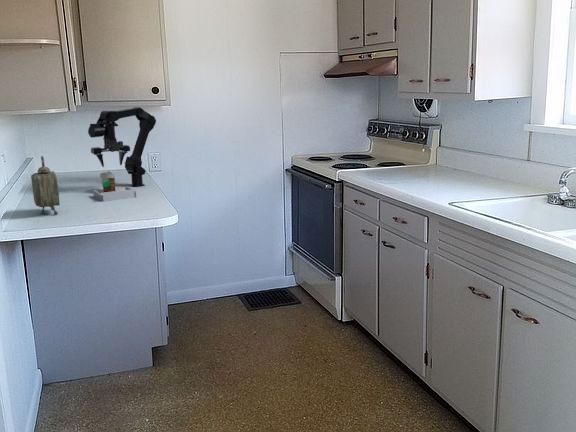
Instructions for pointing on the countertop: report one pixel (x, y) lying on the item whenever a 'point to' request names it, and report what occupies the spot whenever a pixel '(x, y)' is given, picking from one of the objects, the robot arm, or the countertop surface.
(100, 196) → the frame
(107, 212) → the countertop surface
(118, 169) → the countertop surface
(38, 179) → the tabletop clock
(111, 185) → the food container
